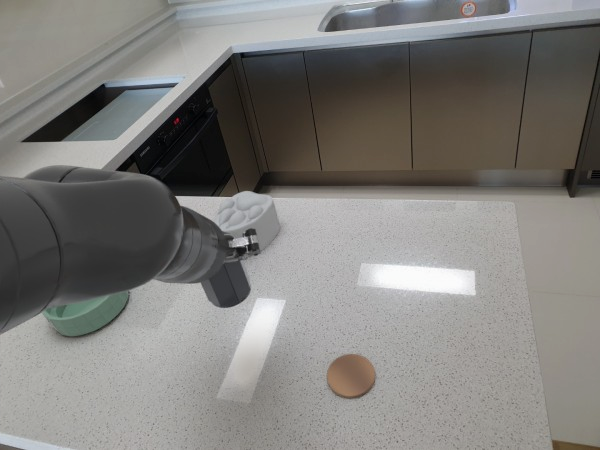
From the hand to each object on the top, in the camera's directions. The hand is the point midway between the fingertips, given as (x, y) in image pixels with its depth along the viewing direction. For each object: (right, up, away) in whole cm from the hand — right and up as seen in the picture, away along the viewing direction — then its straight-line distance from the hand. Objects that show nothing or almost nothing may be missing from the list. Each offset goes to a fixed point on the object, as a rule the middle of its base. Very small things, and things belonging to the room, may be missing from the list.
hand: (220, 256), depth 63 cm
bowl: (-28, -11, +25) cm, 39 cm away
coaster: (+18, -17, +3) cm, 25 cm away
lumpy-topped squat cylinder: (0, +1, +33) cm, 33 cm away
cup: (+1, -5, +2) cm, 6 cm away
